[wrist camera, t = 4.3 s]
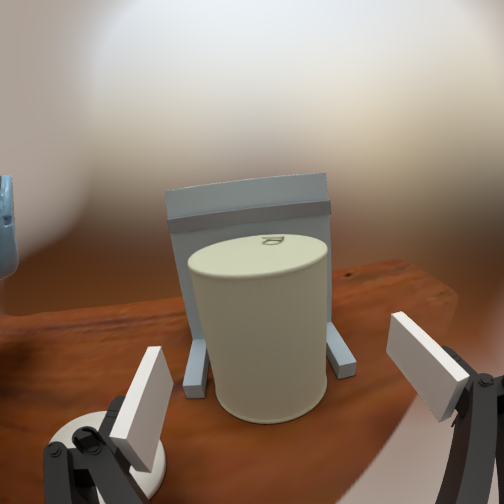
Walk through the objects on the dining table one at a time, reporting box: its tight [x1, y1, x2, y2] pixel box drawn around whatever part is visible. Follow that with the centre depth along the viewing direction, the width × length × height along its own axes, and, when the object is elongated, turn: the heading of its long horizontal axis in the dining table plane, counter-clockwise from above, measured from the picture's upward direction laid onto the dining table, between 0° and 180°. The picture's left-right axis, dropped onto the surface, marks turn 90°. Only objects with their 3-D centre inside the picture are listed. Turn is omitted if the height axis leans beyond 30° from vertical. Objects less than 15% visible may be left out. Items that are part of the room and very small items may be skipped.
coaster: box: [49, 411, 166, 504], centre depth 13 cm, size 10×10×1 cm
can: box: [188, 234, 328, 424], centre depth 20 cm, size 9×9×12 cm
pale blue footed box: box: [164, 173, 356, 398], centre depth 25 cm, size 14×14×16 cm
